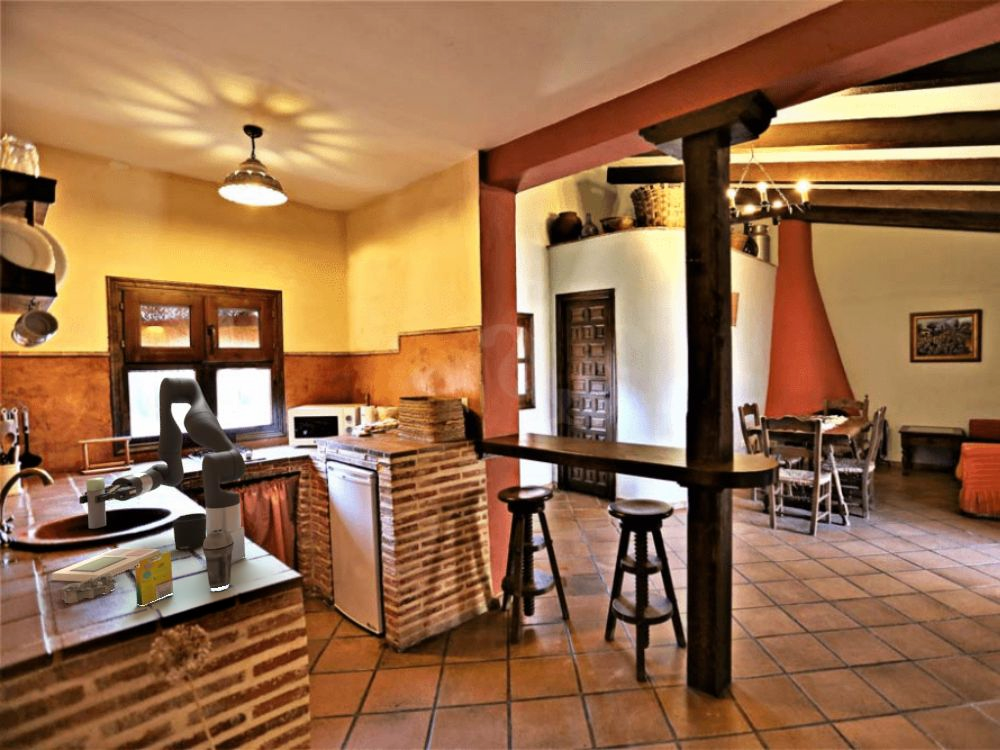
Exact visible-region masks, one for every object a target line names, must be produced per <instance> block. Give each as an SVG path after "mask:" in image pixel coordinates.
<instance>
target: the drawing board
mask: <svg viewBox="0 0 1000 750" xmlns="http://www.w3.org/2000/svg"><path fill="white" fill-rule="evenodd" d="M159 554H161V549H159V548H137V547H136V548H133V547H131V548H130V547H116V548H114V549H111V550H109V551H105V552H103V553H100V554H98V555H95V556H93V557H90V558H87V559H85V560H81V561H80V562H76V563H74V564H72V565H70V566H67V567H64V568H61V569H59V570H56V571H54V572H51V579H52V581H64V582H65V581H67V582H82V581H87V580H89V579H91V578H93V579H96V578H97V577H101V576H104V575H106V574H108V573H110V574H111V575H112V576H113V577H115V576H117V575H120V574H121V572H122V573H124V572H126V570H127V571H129V570H131V569H134V568H135V566H137V565H138V566H139V564H140V562H139V561H141V560H144V559H147V558H150V557H153V556H156V555H159ZM128 569H129V570H128ZM119 573H120V574H119ZM116 574H117V575H116ZM114 575H115V576H114Z"/></svg>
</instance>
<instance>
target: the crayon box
mask: <svg viewBox="0 0 1000 750" xmlns="http://www.w3.org/2000/svg"><path fill="white" fill-rule="evenodd" d="M155 557H156V558H157V559H156V558H155ZM171 557H172V555H171V551H166V552H163V553H160V554H159V555H156V556H153V557H150V558H147V559H144V560H141V561H139V562H140V565H138V566H136V567H134V571H135V572H134V576H135V589H136V590H135V591H136V593H135V594H136V595H135V596H136V605H137V604H139V605H145V604H147V603H150V602H152V601H155V600H157V599H159V598H162V597H164V596H166V595H168V594H171V593H173V594H174V584H173V570H172V558H171Z"/></svg>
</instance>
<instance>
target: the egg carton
mask: <svg viewBox="0 0 1000 750" xmlns="http://www.w3.org/2000/svg"><path fill="white" fill-rule="evenodd" d="M116 583H117V582H116V581H115V578H114V576H113V577H112V575H111V574H110V573H108V574H106V575H104V576H101V577H97V578H96V579H93V578H91V579H89V580H87V581H79V582H73V583H69V584H67V585H65V586H64V587H62V588H61V595H62V599H61V600H62V601H63V600H64V604H65V603H74V602H77V603H79V602H80V601H82V600H81V599H83V600H85V599H84V598H91V599H93V598H92V597H94V596H95V595H97V596H99V595H98V594H100V595H107V594H106V593H108V592H110V591H111V590H113V589H116V588H115V587H116V586H115V585H116ZM103 593H105V594H103ZM95 597H96V596H95ZM95 597H94V598H95ZM79 600H80V601H79ZM74 604H75V603H74Z"/></svg>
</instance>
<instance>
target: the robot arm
mask: <svg viewBox="0 0 1000 750" xmlns="http://www.w3.org/2000/svg"><path fill="white" fill-rule="evenodd" d="M158 394H159V396H158V400H159V404H158V406H159V407H158V408H159V410H158V411H159V439H158V445H157V454H156V455H157V458H158V459H159V460H161V461H162V462H164V463H156V464H153V465H152V466H151V467H150V468H149V467H148V469H146V470H145V471H142V472H138V473H137V472H135V473H131V474H128V475H125V476H121V477H118V478H116V479H114V480H113V481H112V483H110V485H105V493H104V494H100V495H97V496H95V503H101V502H104V501H105V502H107V501H108V502H109V501H119V502H126V501H128V500H132V499H134V498H137V497H140V496H142V495H144V494H146V493H149V492H152V491H154V490H157V489H158V488H160V487H161V486H165V487H170V488H174V487H178V485H180V484H181V483H182V481H183V480H184V476H185V475H184V474H185V472H184V465H183V459H182V448H183V442H184V441H183V440H184V439H183V438H184V437H183V432H182V430H181V428H180V426H179V424H178V423H177V421H176V419H175V417H174V416H173V410H172V405H173V404H188V405H189V406H190V407H189V409H188V411H187V412H186V414H185V416H184V419H183V426H184V429H185V431H186V433H187V434H188V436H189V438H190V439H191V440H192V441H193V442H194V443H196V444H197V445H199V446H201V447H202V448H205V449H208V450H209V451H212V452H213V453H207V454H206V455H204V456H203V458H202V462H201V472H202V473H201V475H202V481H203V482H202V483H203V495H204V501H205V514H206V536H207V535H208V534H209V533H211V532H212V531H214V530H217V522H216V513H217V512H218V516H219V529H222V530H226V531H228V532H229V533H230V534H231V536H232V538H233V542H234V544H233V550H232V560H231V565H233V564H235V563H237V562H239V561H241V560H242V559H244V558H246V547H245V546H246V545H245V544H246V543H245V527H244V526H242V523H241V522H242V521H241V519H242V518H241V517H242V516H241V496H240V493H238V492H236V491H232V490H231V491H229V490H225V489H222V488H221V486H220V484H221V483H227V482H228V483H229V482H231V481H232V482H233V481H237V480H239V479H241V478H243V477H244V475H245V474H246V470H247V469H246V462H245V460H244V457H243V456H242V454H241V452H240V450H239V449H238V448H237V447H236V446H235V444H234V443H233V442H232V441H231V440H230V439H229V437H228V436H227V435H226V433H225V430H224V429H223V428H222V426H221V424H220V422H219V420H218V418H217V417H216V416H215V413H213V411H212V410H211V408H210V406H209V404H208V402H207V401H206V398H205V396H204V394H203V391H202V389H201V386H200V385H199V382H198V381H197V380H196V379H195V378H192V377H187V376H186V377H185V376H184V377H183V376H182V377H181V376H166V377H164V378H162V380H161V382H160V385H159V393H158ZM78 499H79V504H80V505H83V504H86V503H87V504H88V499H87V491H85V492H84V495H81V496H79V497H78ZM243 557H244V558H243ZM241 558H242V559H241ZM240 559H241V560H240ZM238 560H239V561H238ZM236 561H237V562H236ZM234 562H235V563H234ZM232 563H233V564H232Z"/></svg>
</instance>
